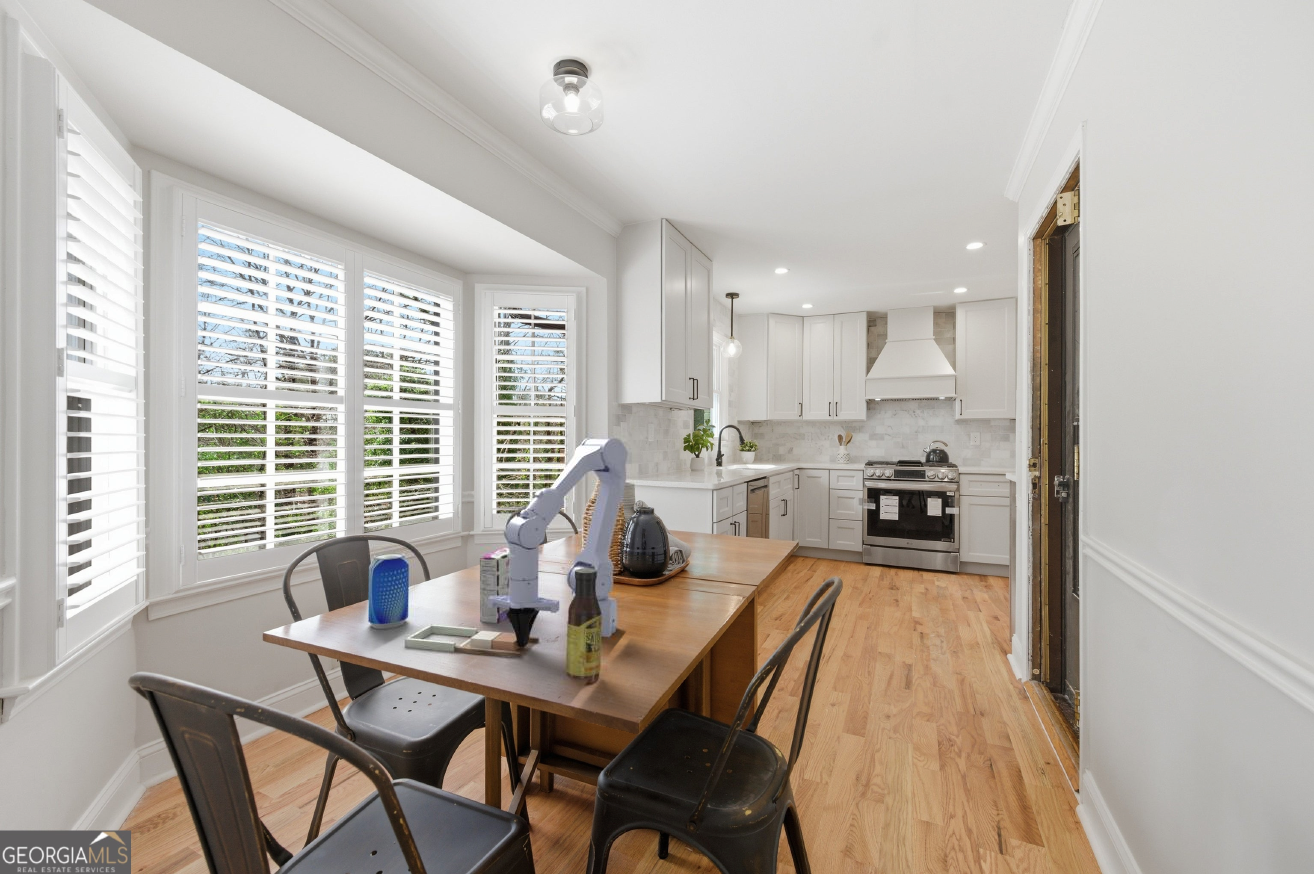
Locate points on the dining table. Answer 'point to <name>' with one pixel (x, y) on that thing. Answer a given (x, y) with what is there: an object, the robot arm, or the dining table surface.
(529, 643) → the board
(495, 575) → the candy bar box
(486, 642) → the tile
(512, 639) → the tile
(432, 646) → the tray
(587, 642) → the sauce bottle
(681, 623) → the dining table surface
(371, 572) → the beer can
